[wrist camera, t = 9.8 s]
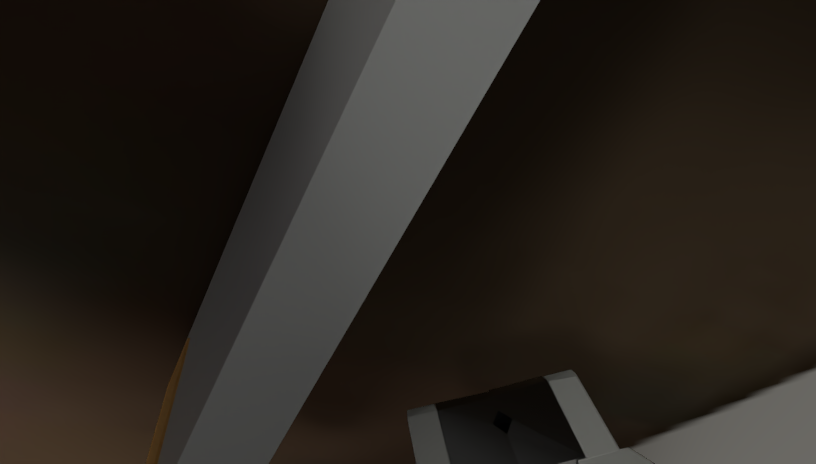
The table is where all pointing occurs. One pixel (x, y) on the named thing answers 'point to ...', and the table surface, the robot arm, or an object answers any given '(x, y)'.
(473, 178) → the table surface
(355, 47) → the side door
